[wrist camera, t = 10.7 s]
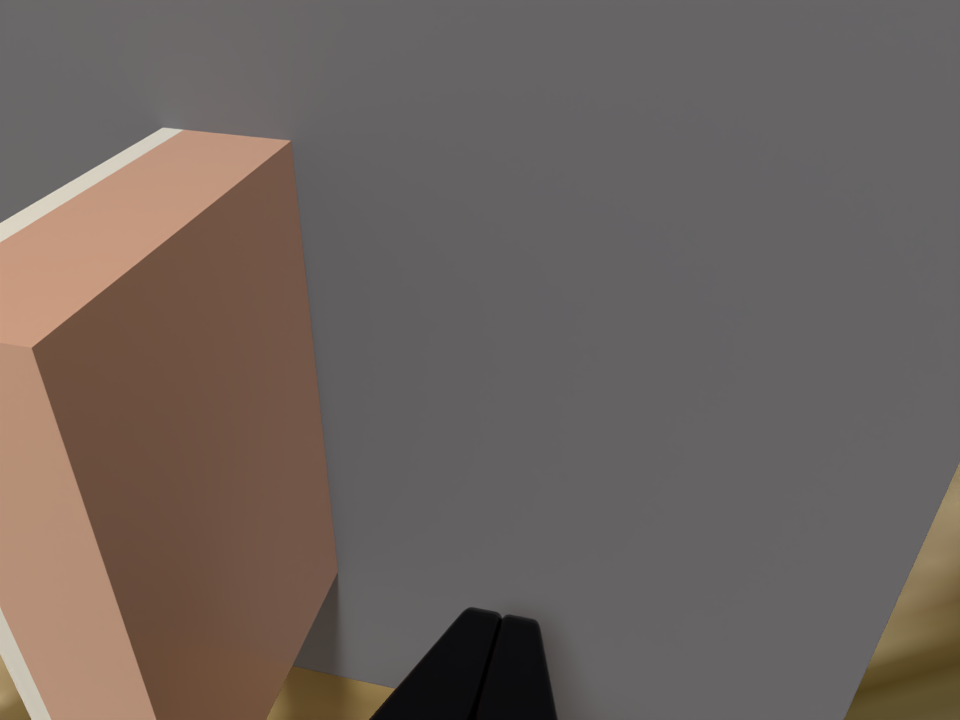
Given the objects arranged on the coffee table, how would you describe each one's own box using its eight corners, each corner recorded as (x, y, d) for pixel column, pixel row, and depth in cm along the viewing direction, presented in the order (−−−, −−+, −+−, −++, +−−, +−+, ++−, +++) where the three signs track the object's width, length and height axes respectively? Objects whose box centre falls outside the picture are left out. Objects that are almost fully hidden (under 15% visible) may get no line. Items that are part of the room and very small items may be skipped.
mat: (1303, -362, 7) (1335, -372, 6) (813, 760, 16) (816, 781, 15) (-451, -345, 10) (-491, -351, 9) (-21, 580, 19) (-34, 593, 18)
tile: (290, 140, 11) (31, 347, 7) (337, 571, 15) (200, 853, 11) (163, 127, 11) (-160, 317, 7) (245, 553, 15) (80, 820, 11)
